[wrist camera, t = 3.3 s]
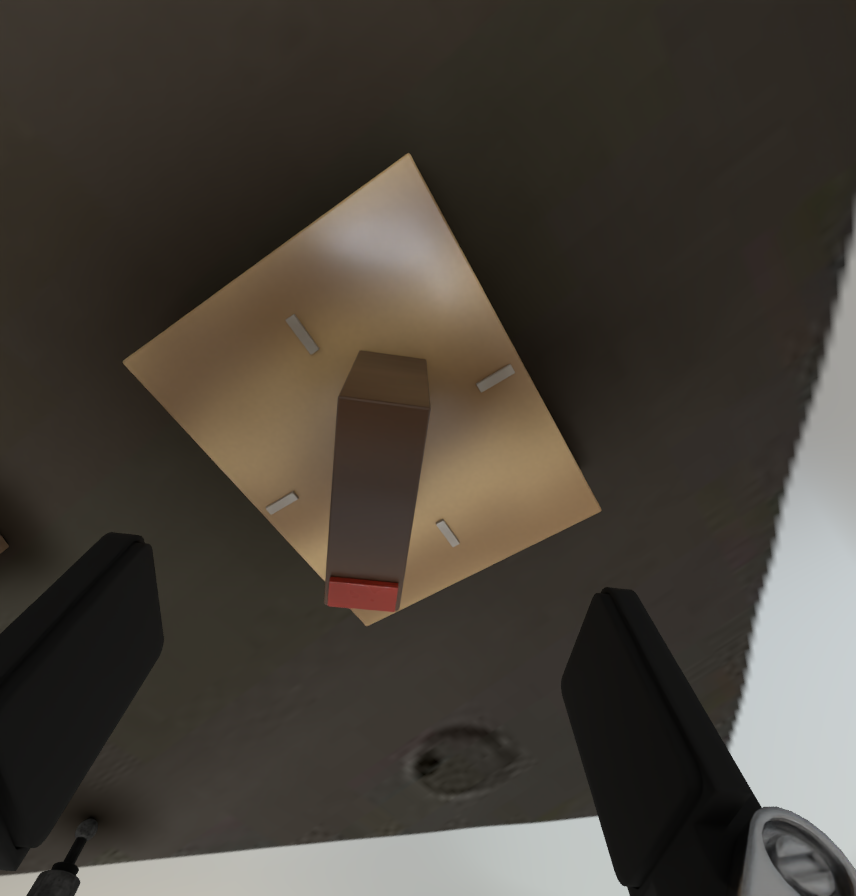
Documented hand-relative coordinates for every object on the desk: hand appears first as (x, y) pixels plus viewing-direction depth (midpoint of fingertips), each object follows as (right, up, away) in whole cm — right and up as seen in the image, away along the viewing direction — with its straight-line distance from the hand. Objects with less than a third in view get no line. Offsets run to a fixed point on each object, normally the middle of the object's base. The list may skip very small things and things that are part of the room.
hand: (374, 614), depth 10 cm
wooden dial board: (-1, +5, +11) cm, 12 cm away
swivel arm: (-1, +4, +8) cm, 9 cm away
